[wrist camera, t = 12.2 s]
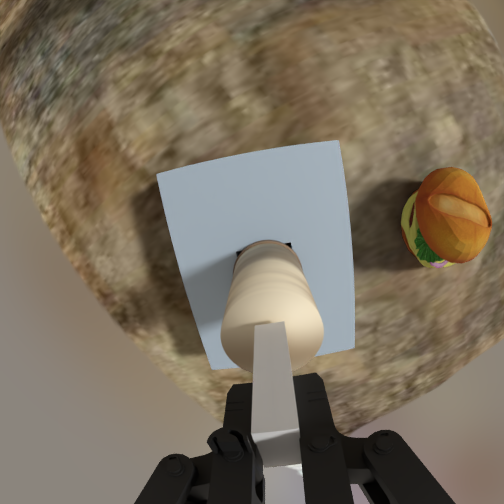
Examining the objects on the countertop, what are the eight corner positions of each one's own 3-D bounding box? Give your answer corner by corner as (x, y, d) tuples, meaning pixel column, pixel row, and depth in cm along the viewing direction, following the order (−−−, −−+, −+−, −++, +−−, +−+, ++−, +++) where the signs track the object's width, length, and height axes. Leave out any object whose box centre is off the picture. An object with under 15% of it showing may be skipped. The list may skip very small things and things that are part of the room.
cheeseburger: (403, 279, 28) (446, 299, 19) (375, 192, 28) (412, 177, 18) (464, 249, 27) (513, 256, 17) (440, 168, 27) (486, 151, 17)
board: (174, 172, 26) (156, 174, 21) (324, 144, 24) (338, 140, 20) (218, 342, 31) (212, 369, 27) (342, 322, 30) (354, 347, 26)
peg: (232, 233, 27) (206, 299, 14) (290, 223, 26) (321, 280, 13) (243, 286, 29) (231, 381, 15) (298, 277, 28) (327, 367, 15)
